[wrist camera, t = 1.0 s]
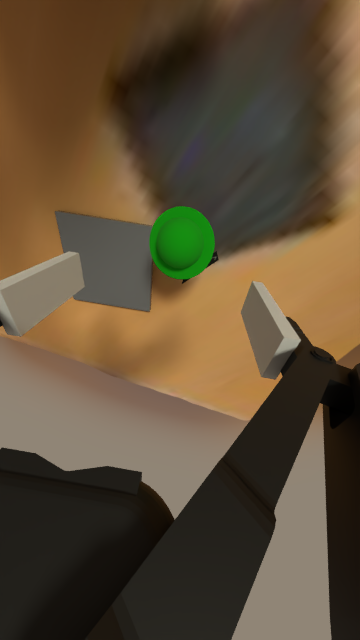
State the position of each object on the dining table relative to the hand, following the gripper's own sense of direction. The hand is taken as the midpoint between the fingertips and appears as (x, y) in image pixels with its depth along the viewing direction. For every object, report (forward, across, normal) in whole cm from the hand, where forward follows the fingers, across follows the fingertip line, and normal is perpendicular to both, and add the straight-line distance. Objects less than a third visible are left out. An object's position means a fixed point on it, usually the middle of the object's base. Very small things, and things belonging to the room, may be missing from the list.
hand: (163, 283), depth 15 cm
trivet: (+24, -15, -9) cm, 30 cm away
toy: (+24, 0, 0) cm, 25 cm away
